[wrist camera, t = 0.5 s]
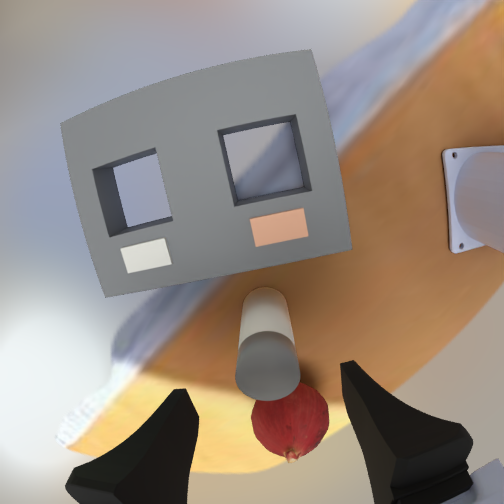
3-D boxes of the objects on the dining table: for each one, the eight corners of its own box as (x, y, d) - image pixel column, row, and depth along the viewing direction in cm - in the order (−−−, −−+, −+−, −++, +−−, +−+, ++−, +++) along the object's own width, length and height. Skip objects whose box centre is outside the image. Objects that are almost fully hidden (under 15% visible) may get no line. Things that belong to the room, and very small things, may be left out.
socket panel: (303, 64, 17) (312, 47, 14) (339, 237, 20) (353, 250, 17) (82, 126, 18) (57, 123, 15) (122, 281, 22) (103, 299, 18)
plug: (282, 283, 21) (295, 346, 14) (290, 322, 22) (303, 394, 15) (238, 291, 22) (228, 358, 14) (247, 330, 22) (243, 404, 15)
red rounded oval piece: (330, 366, 23) (353, 438, 16) (307, 414, 25) (319, 483, 17) (262, 355, 23) (263, 431, 15) (245, 405, 25) (241, 477, 17)
